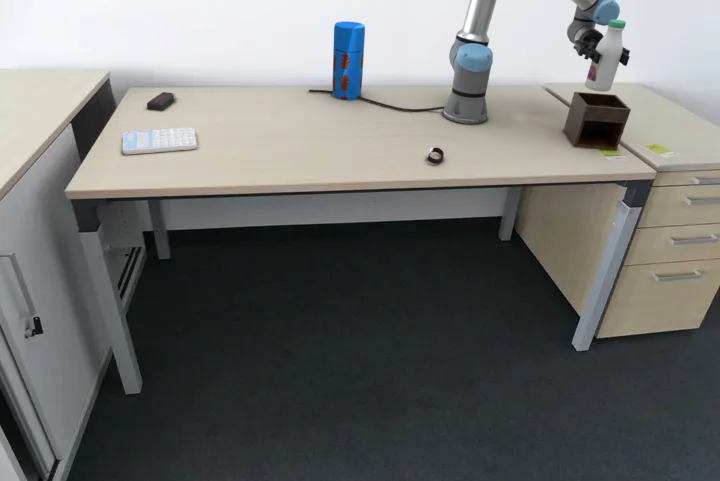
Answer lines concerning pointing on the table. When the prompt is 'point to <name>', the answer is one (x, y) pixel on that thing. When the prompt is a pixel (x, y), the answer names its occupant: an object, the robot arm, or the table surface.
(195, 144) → the calculator
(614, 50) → the milk bottle
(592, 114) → the shelf unit
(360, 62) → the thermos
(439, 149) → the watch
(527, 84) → the table surface
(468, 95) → the robot arm
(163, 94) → the usb drive
